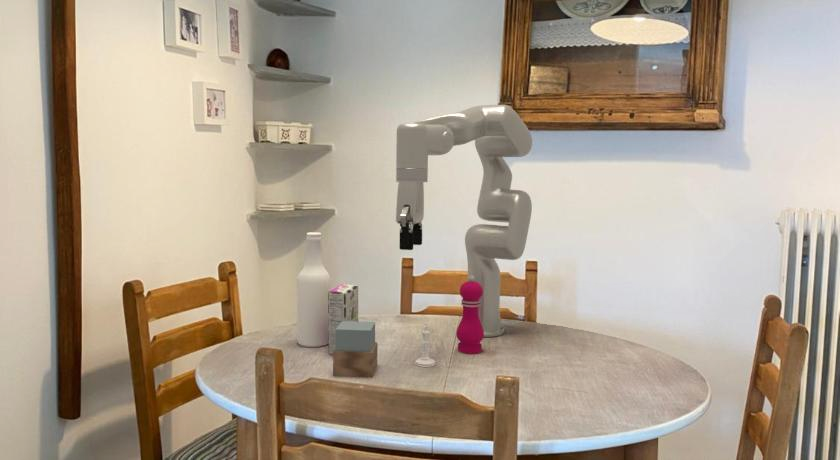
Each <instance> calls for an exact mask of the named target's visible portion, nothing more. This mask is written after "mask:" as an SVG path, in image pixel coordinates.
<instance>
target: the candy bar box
mask: <svg viewBox="0 0 840 460" xmlns="http://www.w3.org/2000/svg"><path fill="white" fill-rule="evenodd" d="M342 321H354V322H359V285H358V284H351V283H350V284H347V283H342V284H339V285H338V286H336V287H335V288H333V289H330V291H329V292H328V323H329V326H328V327H329V343H328V355H331V356H333V351H334V350H335V348H336V328H337V327H338V326H339V324H340V323H341V322H342Z"/></svg>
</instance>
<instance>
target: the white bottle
mask: <svg viewBox="0 0 840 460" xmlns="http://www.w3.org/2000/svg"><path fill="white" fill-rule="evenodd" d="M305 239H306V248H305V258H304V259H305V260H304V265H303V268H302V269H301V270H300V272H299V273H298V275H297V279H296V325H297V326H296V329H297V330H296V332H297V333H296V341H297V343H298V344H299V346H301V347H305V348H320V347H324V346H327V345H329V327H328V326H329V323H328V292H329V291H331V276H330V274H329V272H328V271H327V269H326V268H325V266H324V263H323V253H322V251H323V250H322V233H321V232H318V231H310V232H307V233H306V238H305Z"/></svg>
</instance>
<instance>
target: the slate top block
mask: <svg viewBox="0 0 840 460" xmlns="http://www.w3.org/2000/svg"><path fill="white" fill-rule="evenodd" d="M375 342H376V322H375V321H358V322H354V321H342V322H341V323H340V324H339V326H338V327H337V328H336V351H353V352H371V350H372V348H373V346H374V344H375Z"/></svg>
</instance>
